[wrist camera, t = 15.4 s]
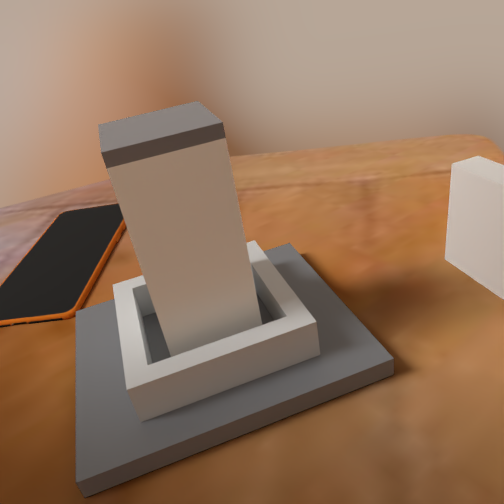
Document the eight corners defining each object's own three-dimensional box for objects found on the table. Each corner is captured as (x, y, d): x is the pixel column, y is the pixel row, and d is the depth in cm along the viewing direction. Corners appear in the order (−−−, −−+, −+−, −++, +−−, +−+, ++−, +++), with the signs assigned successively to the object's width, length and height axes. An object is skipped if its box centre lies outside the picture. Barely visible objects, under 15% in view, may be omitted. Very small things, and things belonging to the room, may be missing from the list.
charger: (177, 374, 22) (101, 152, 16) (163, 320, 26) (98, 124, 20) (266, 343, 23) (222, 122, 17) (240, 295, 27) (197, 101, 21)
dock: (84, 498, 18) (56, 450, 17) (81, 324, 28) (63, 284, 27) (393, 374, 21) (393, 323, 20) (291, 255, 31) (285, 216, 30)
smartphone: (-32, 335, 30) (-38, 325, 30) (63, 219, 44) (60, 211, 44) (79, 322, 29) (74, 311, 29) (139, 207, 44) (137, 199, 43)
